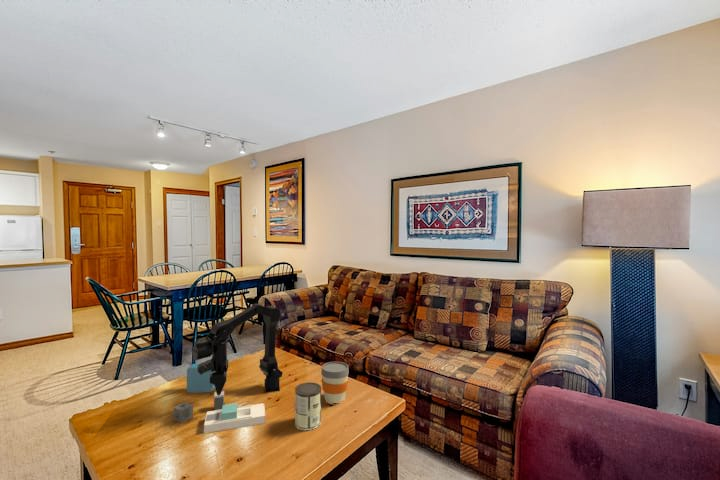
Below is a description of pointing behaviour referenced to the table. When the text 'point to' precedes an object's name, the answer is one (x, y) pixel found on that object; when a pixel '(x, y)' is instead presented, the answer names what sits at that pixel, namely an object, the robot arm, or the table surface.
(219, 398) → the white rectangular block
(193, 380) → the data package
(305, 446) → the table surface
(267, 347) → the robot arm
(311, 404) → the coffee can
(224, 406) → the block
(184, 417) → the dice cube
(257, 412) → the socket strip
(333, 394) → the reusable coffee cup
